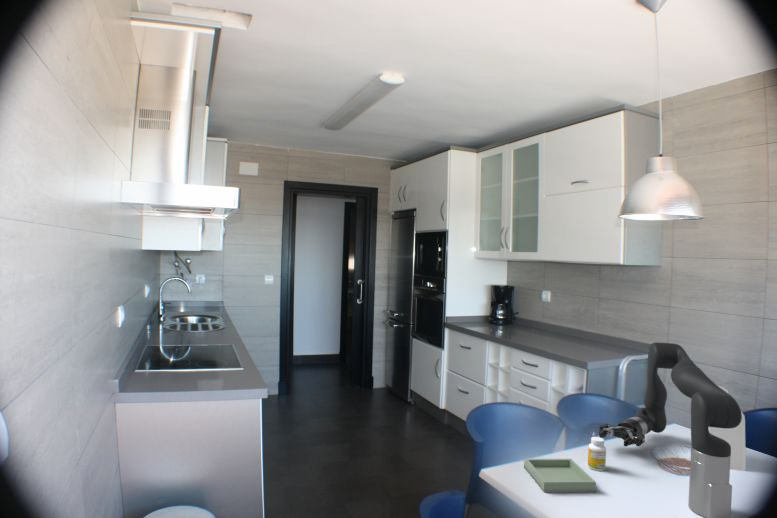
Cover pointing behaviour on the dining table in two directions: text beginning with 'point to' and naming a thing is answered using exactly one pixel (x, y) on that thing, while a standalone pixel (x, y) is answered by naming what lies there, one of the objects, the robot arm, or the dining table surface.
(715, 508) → the robot arm
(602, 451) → the supplement bottle
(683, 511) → the dining table surface
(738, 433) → the milk
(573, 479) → the tray
